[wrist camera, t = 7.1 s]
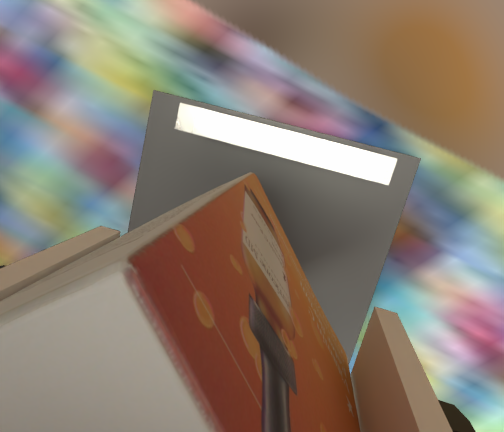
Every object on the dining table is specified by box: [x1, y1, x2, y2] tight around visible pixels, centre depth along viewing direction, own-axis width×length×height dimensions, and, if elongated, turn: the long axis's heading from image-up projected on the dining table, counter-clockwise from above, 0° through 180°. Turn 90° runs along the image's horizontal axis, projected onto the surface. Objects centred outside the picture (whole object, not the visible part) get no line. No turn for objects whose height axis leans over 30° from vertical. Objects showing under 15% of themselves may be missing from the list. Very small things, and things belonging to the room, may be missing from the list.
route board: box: [128, 90, 421, 365], centre depth 23 cm, size 15×26×4 cm, turn 166°
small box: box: [0, 172, 361, 432], centre depth 10 cm, size 8×6×10 cm
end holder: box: [175, 103, 397, 185], centre depth 21 cm, size 10×12×4 cm
